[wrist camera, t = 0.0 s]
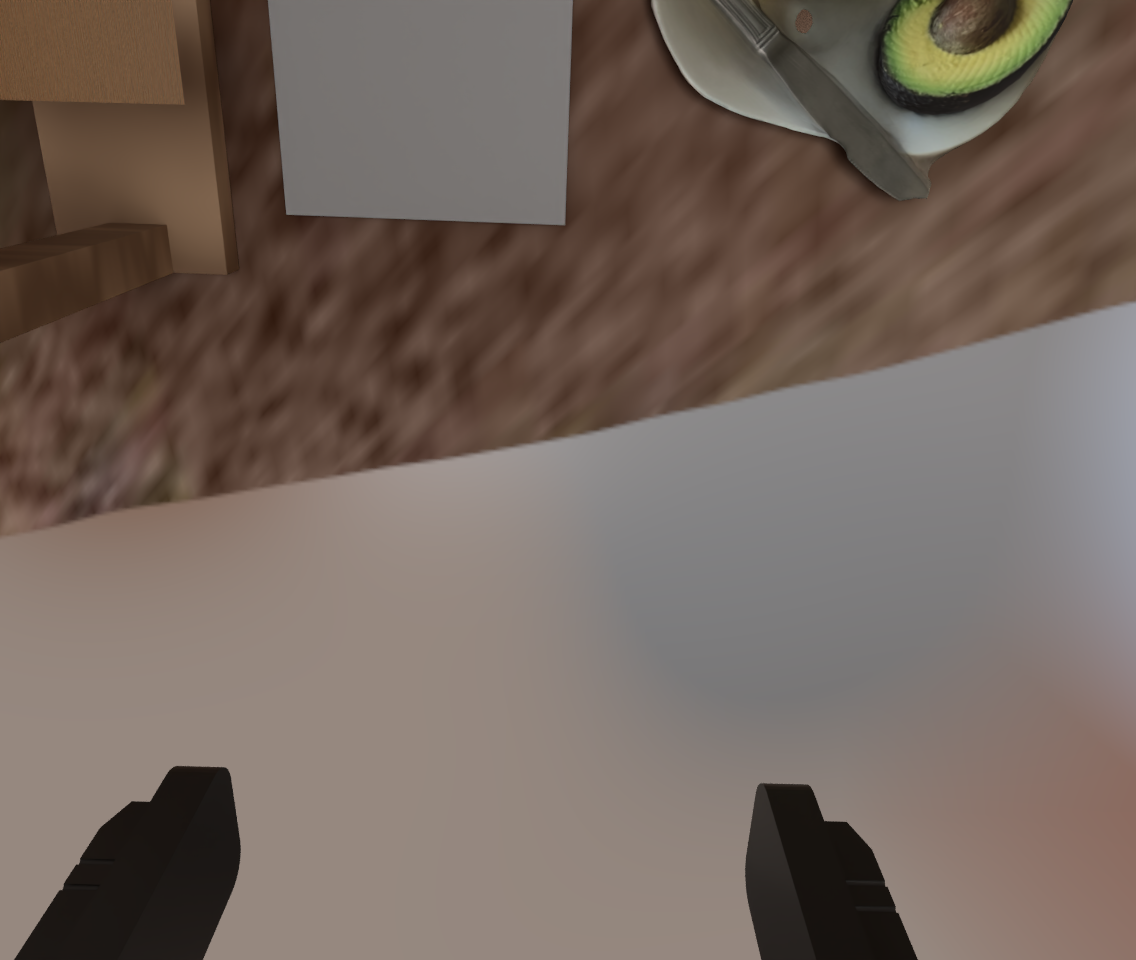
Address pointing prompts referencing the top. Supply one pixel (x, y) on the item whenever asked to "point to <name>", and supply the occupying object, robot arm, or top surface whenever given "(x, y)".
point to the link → (89, 51)
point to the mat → (424, 108)
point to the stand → (127, 193)
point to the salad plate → (866, 70)
